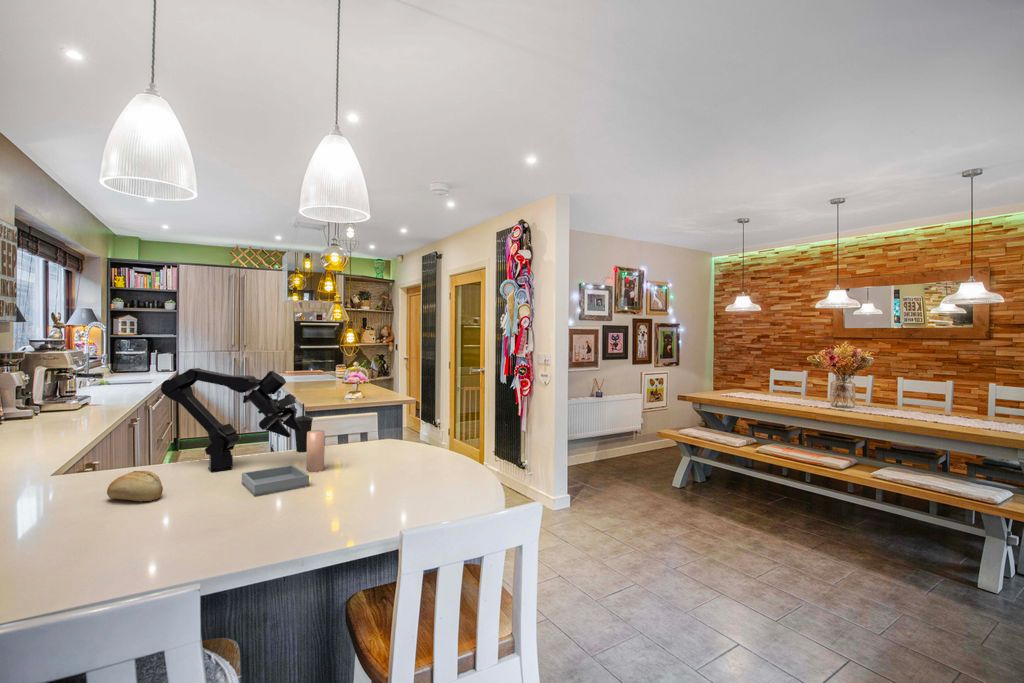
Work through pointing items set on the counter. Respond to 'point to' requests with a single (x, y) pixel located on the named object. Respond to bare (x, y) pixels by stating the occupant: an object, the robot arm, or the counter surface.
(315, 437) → the canister
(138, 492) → the bread roll
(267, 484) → the tray
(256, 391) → the robot arm
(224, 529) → the counter surface
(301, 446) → the drinking cup
